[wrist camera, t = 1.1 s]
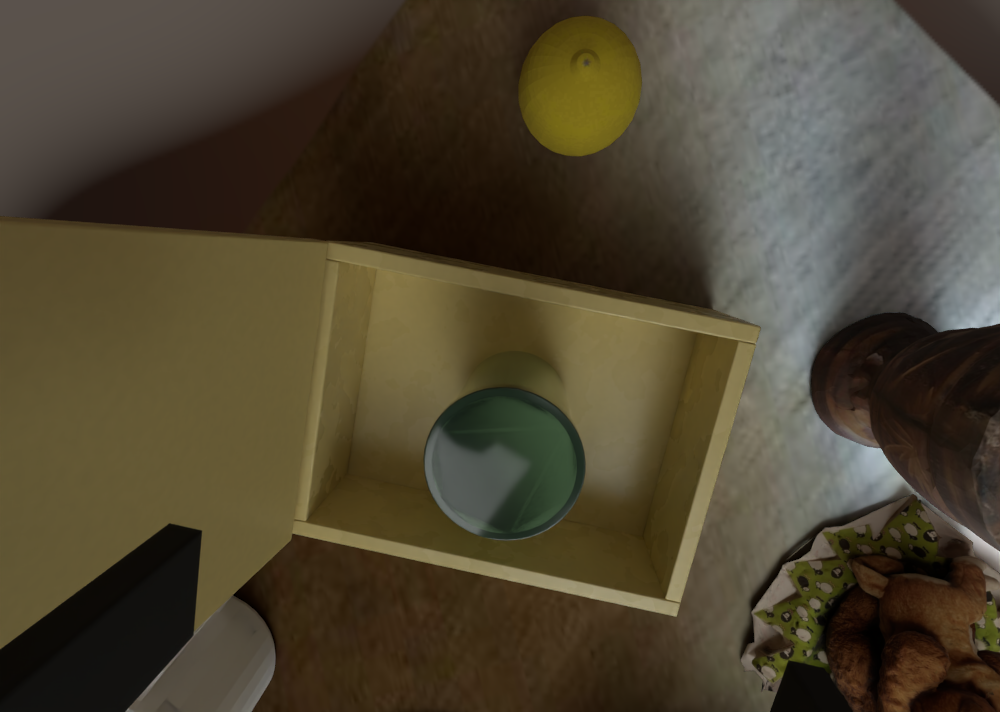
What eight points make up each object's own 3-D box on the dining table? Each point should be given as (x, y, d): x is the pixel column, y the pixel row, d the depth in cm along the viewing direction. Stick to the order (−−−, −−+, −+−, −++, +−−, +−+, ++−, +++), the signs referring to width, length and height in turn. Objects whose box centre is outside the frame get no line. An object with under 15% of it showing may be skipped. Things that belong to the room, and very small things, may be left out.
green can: (558, 466, 32) (566, 556, 23) (448, 443, 32) (411, 523, 23) (583, 358, 31) (602, 406, 21) (468, 335, 31) (437, 372, 21)
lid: (-963, 159, 4) (-1029, 140, 4) (-554, 1343, 7) (-602, 1317, 7) (328, 241, 24) (311, 238, 24) (292, 540, 27) (277, 535, 27)
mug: (235, 726, 38) (139, 876, 29) (126, 653, 38) (-6, 782, 28) (327, 608, 36) (254, 731, 27) (212, 528, 35) (98, 626, 26)
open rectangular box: (713, 309, 30) (762, 326, 24) (649, 543, 33) (676, 617, 27) (370, 242, 31) (324, 240, 24) (337, 477, 34) (288, 533, 27)
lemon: (536, 180, 30) (535, 155, 22) (509, 74, 29) (498, 9, 21) (637, 150, 29) (673, 113, 21) (612, 41, 28) (641, -39, 20)
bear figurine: (1055, 591, 32) (1362, 795, 20) (875, 758, 35) (1048, 1022, 23) (872, 461, 31) (1077, 592, 19) (704, 642, 34) (792, 853, 22)
